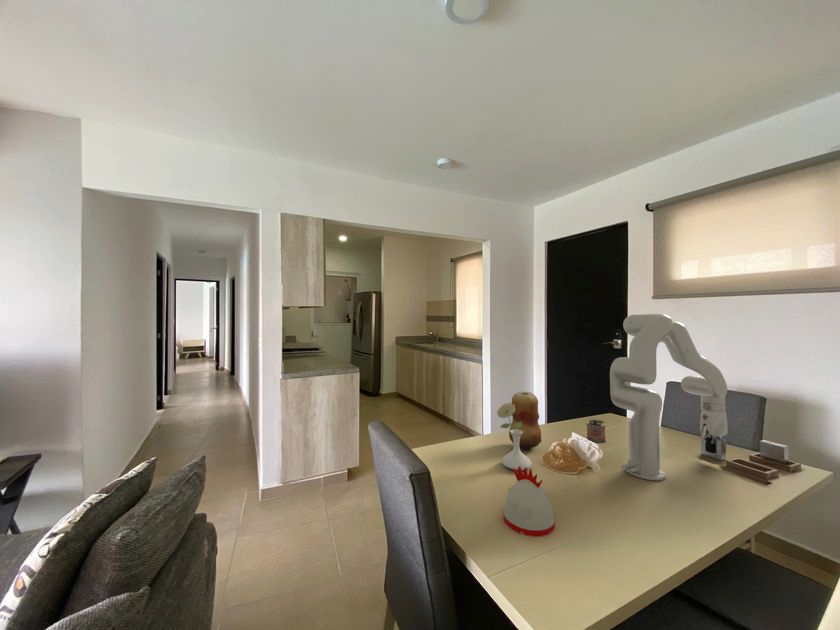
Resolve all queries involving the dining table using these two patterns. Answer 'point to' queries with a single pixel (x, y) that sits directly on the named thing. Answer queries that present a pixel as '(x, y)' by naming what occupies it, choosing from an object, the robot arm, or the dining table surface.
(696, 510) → the dining table surface
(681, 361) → the robot arm
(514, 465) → the flower in vase
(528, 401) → the butternut squash
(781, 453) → the block
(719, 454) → the billet
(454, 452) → the dining table surface
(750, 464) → the brown flat slotted piece
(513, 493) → the kitchen timer
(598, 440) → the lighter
